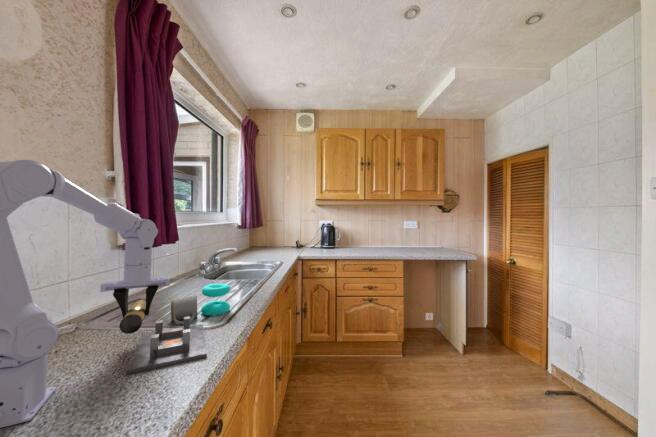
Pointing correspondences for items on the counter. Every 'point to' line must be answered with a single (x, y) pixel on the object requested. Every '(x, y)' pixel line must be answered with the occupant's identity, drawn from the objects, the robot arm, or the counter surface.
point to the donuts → (215, 306)
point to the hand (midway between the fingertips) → (136, 315)
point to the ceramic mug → (184, 308)
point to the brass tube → (133, 317)
